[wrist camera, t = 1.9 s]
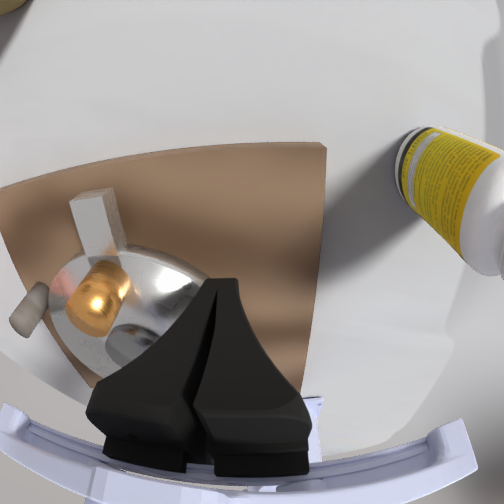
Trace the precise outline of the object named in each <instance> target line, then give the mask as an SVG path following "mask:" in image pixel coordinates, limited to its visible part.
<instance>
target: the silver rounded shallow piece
mask: <svg viewBox="0 0 504 504" xmlns="http://www.w3.org/2000/svg"><path fill="white" fill-rule="evenodd" d="M69 203H70V207H71V210H72V214H73V217H74V220H75V224H76V227H77V230H78V233H79V236H80V239H81V242H82V245H83V248H84V250H82V251H80V252H78V253H76V254H75V255H74V256H73V257H72V258H70V259H69V260H68V261H67V263H66V264H65V265H64V266H63V267H62V269H61V270H60V271H59V272H58V274H57V275H56V276H55V277H54V279H53V281H52V284H51V286H50V290H49V296H48V304H49V311H50V315H51V319H52V322H53V324H54V326H55V329H56V331H57V332H58V334H59V336H60V338H61V339H62V340H63V342H64V343H65V345H66V346H67V347H68V348H69V350H70V351H71V352H72V353H73V354H74V355H75V356H76V357H77V358H78V359H79V360H80V361H81V362H82V363H83V364H84V365H86V366H87V367H88V368H89V369H91V370H92V371H93V372H95V373H96V374H98V375H99V376H101V377H102V378H105V377H107V376H109V375H111V374H112V373H114V372H116V371H118V370H119V369H121V368H122V367H124V366H125V365H127V364H128V363H130V362H131V361H133V360H134V359H135V358H137V357H138V356H139V355H141V354H142V353H143V352H144V351H145V350H147V349H148V348H149V347H150V346H151V345H152V344H153V343H155V342H156V341H157V340H158V339H159V338H160V337H161V336H162V335H163V334H164V333H165V332H166V331H167V330H168V329H169V328H170V326H171V325H172V324H173V323H174V322H175V321H176V319H177V318H178V317H179V316H180V315H181V313H182V312H183V311H184V310H185V308H186V307H187V305H188V304H189V303H190V301H191V300H192V299H193V297H194V296H195V294H196V293H197V291H198V290H199V288H200V287H201V285H202V284H203V282H204V281H205V280H206V279H207V278H211V277H209V276H208V275H207V274H206V273H204V272H202V271H201V270H199V269H198V268H196V267H195V266H193V265H191V264H190V263H188V262H186V261H184V260H182V259H180V258H178V257H176V256H173V255H170V254H168V253H165V252H163V251H160V250H157V249H153V248H149V247H145V246H141V245H134V244H127V241H126V237H125V234H124V230H123V226H122V222H121V218H120V214H119V210H118V206H117V202H116V198H115V193H114V188H106V189H100V190H93V191H87V192H81V193H80V194H79V195H77V196H76V197H75V198H73V199H72V200H71V201H69Z"/></svg>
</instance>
